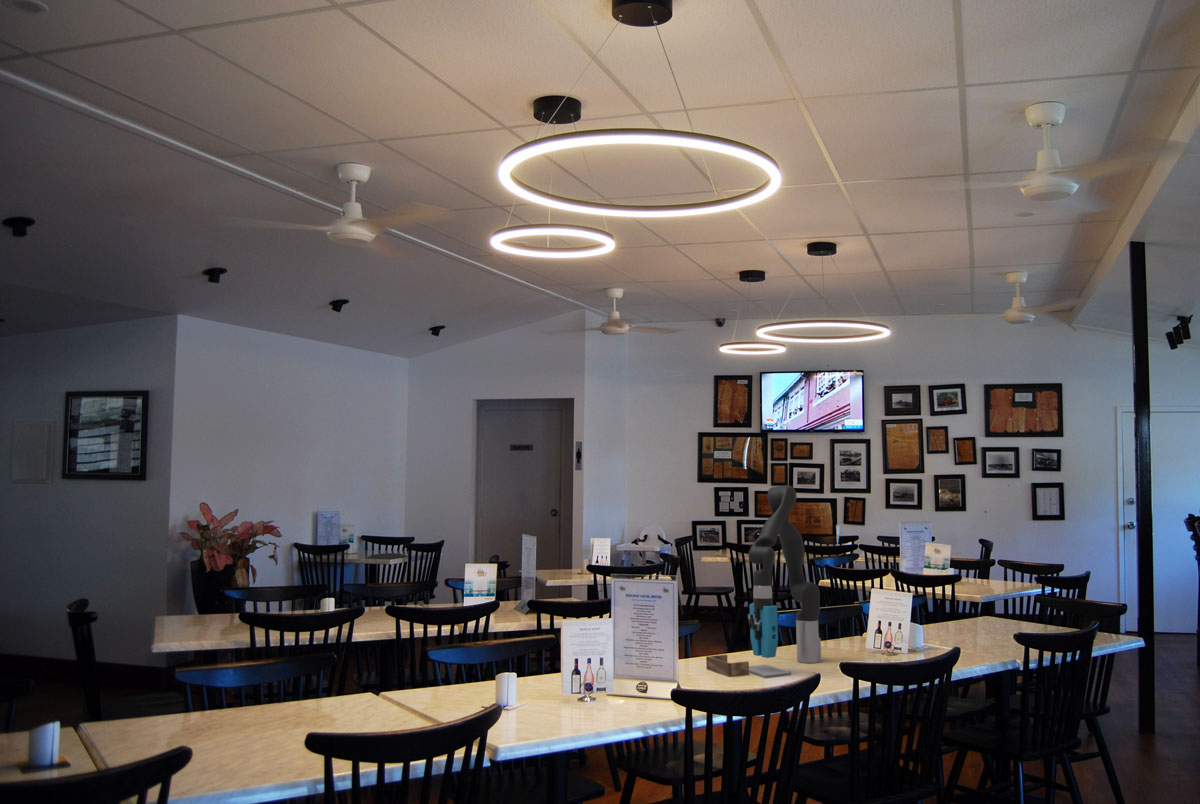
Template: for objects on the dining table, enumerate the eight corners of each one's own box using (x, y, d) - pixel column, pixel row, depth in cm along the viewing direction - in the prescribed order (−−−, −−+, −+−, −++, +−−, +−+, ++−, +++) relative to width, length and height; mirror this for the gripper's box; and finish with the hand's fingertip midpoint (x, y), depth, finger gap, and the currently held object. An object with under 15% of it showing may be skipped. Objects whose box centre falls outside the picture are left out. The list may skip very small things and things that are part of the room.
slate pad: (765, 667, 372) (765, 664, 372) (791, 675, 356) (790, 672, 356) (740, 669, 367) (740, 667, 368) (765, 678, 351) (765, 675, 351)
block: (779, 657, 359) (778, 606, 360) (770, 658, 356) (768, 607, 358) (759, 652, 369) (757, 603, 371) (749, 654, 366) (748, 603, 368)
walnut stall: (725, 666, 374) (725, 654, 374) (749, 674, 358) (748, 661, 358) (706, 668, 370) (706, 656, 370) (729, 676, 354) (728, 663, 355)
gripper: (772, 594, 371) (773, 636, 369) (742, 596, 365) (743, 639, 364) (783, 596, 364) (784, 639, 362) (752, 598, 358) (753, 642, 357)
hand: (764, 639), depth 363 cm, fingers closed on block, 5 cm apart
